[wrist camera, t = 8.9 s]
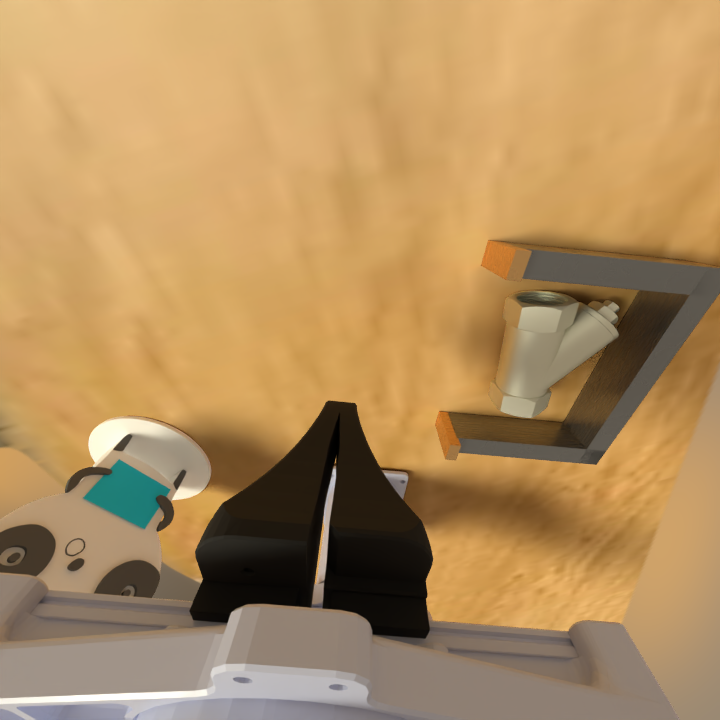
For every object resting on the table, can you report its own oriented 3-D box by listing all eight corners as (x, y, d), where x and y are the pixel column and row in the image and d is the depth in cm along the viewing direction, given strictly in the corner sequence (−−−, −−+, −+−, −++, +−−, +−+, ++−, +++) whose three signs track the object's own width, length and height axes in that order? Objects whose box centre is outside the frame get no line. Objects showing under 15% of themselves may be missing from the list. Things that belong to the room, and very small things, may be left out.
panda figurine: (239, 472, 29) (130, 700, 16) (174, 512, 32) (42, 724, 19) (131, 395, 24) (-148, 622, 11) (70, 451, 28) (-195, 672, 15)
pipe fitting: (598, 283, 19) (498, 291, 19) (653, 300, 16) (532, 310, 16) (565, 382, 23) (482, 389, 23) (603, 413, 20) (506, 421, 20)
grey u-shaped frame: (572, 436, 25) (603, 473, 22) (435, 424, 25) (445, 459, 21) (682, 259, 18) (754, 273, 14) (488, 240, 17) (516, 249, 14)
